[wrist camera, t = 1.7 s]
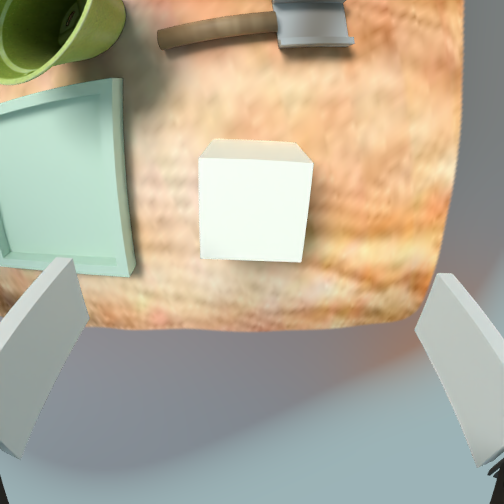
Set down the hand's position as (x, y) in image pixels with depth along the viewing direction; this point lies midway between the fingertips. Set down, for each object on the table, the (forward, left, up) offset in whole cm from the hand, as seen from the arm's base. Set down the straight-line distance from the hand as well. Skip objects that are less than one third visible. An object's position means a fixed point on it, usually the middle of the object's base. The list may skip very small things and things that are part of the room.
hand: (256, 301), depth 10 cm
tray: (-18, 0, -15) cm, 23 cm away
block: (0, 0, -15) cm, 15 cm away
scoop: (0, +12, -15) cm, 19 cm away
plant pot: (-13, +13, -15) cm, 24 cm away
